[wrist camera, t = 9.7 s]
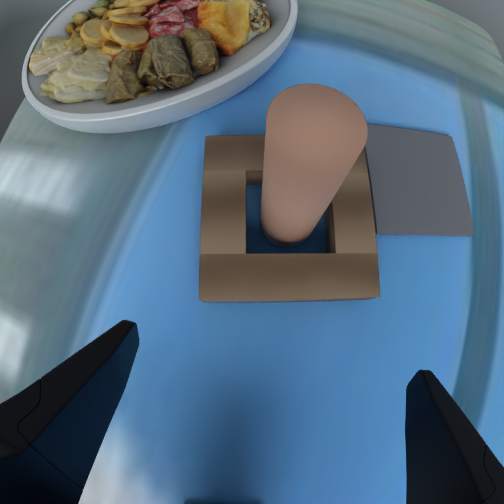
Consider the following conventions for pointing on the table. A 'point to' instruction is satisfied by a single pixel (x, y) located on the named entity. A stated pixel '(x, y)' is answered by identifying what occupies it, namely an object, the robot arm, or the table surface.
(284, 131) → the dowel
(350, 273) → the socket block
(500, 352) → the table surface
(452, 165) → the mat
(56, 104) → the bowl
